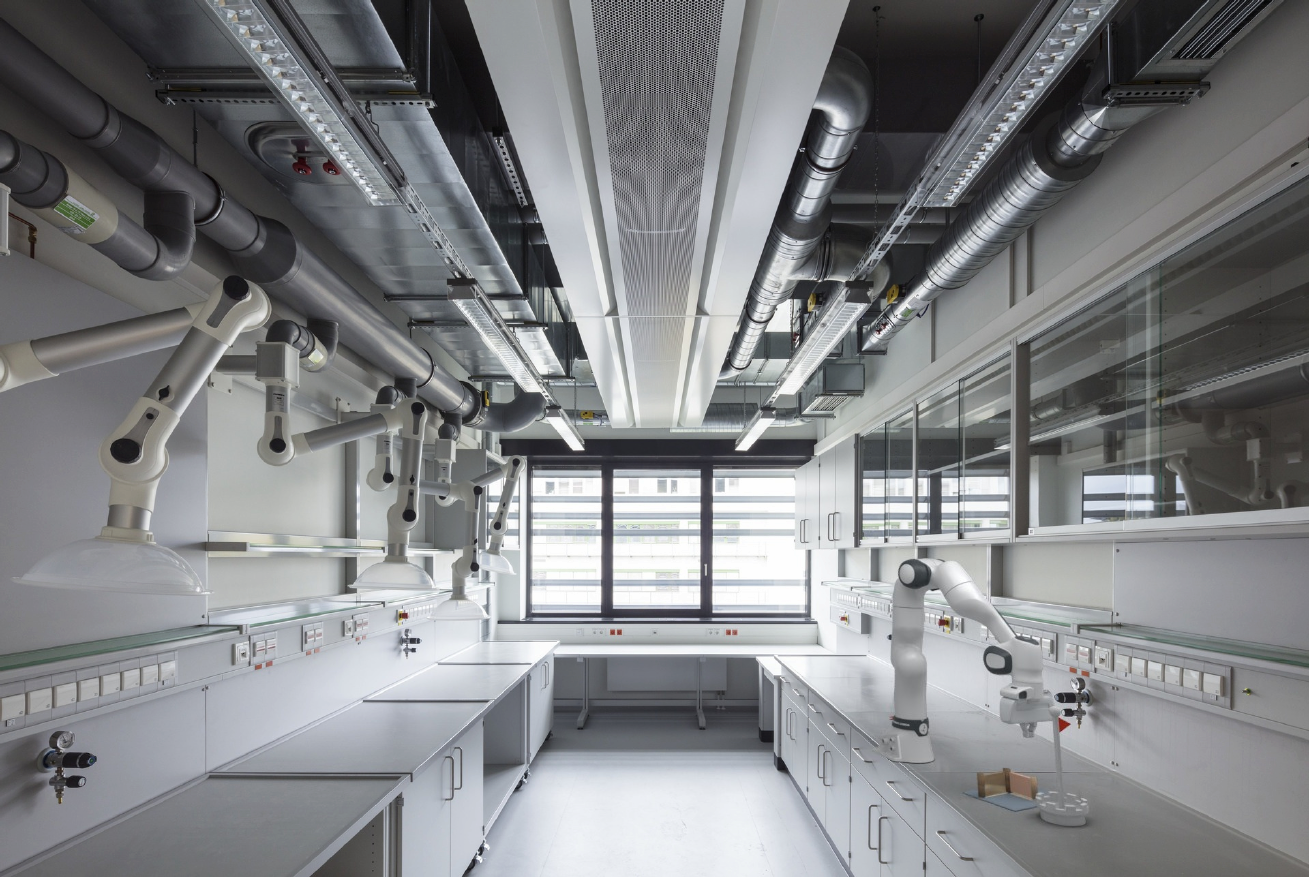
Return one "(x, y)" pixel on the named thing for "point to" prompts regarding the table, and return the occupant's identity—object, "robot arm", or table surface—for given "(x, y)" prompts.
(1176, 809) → the table surface
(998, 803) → the board
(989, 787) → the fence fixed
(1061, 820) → the flag stand
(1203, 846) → the table surface
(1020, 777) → the fence section
